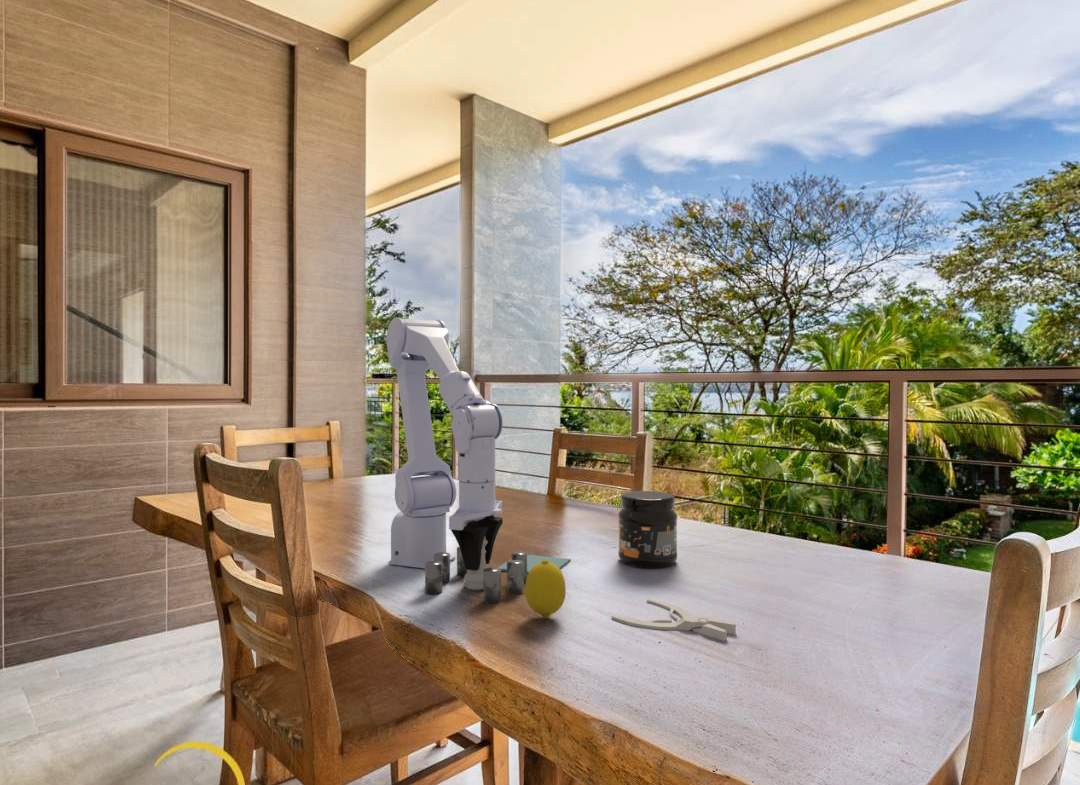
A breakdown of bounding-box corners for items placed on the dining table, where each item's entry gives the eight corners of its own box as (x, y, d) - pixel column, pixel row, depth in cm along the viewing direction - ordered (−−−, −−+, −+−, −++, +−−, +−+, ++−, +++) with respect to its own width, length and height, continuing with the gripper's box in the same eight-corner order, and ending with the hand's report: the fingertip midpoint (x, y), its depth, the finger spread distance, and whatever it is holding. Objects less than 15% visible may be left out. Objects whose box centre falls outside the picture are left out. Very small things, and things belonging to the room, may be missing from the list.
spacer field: (413, 592, 99) (413, 563, 99) (454, 570, 110) (453, 544, 110) (505, 605, 93) (505, 574, 93) (538, 580, 105) (538, 552, 105)
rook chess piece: (496, 584, 103) (496, 534, 103) (482, 592, 99) (482, 540, 99) (472, 580, 105) (472, 531, 105) (458, 588, 101) (457, 537, 100)
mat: (496, 570, 110) (496, 568, 110) (519, 556, 120) (519, 553, 120) (550, 576, 107) (550, 574, 107) (570, 561, 116) (570, 559, 116)
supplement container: (608, 556, 119) (608, 492, 119) (659, 551, 122) (659, 489, 122) (634, 572, 109) (634, 501, 109) (688, 566, 112) (688, 498, 112)
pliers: (649, 592, 95) (747, 616, 85) (649, 603, 95) (747, 628, 85) (610, 610, 87) (712, 639, 77) (610, 621, 87) (712, 652, 77)
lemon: (562, 627, 84) (561, 566, 84) (521, 624, 86) (520, 564, 86) (568, 612, 90) (568, 555, 90) (530, 609, 91) (529, 553, 91)
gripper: (478, 488, 93) (479, 582, 93) (518, 475, 107) (519, 557, 107) (436, 486, 96) (437, 576, 96) (480, 473, 109) (481, 553, 109)
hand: (477, 566), depth 102 cm, fingers closed on rook chess piece, 3 cm apart
